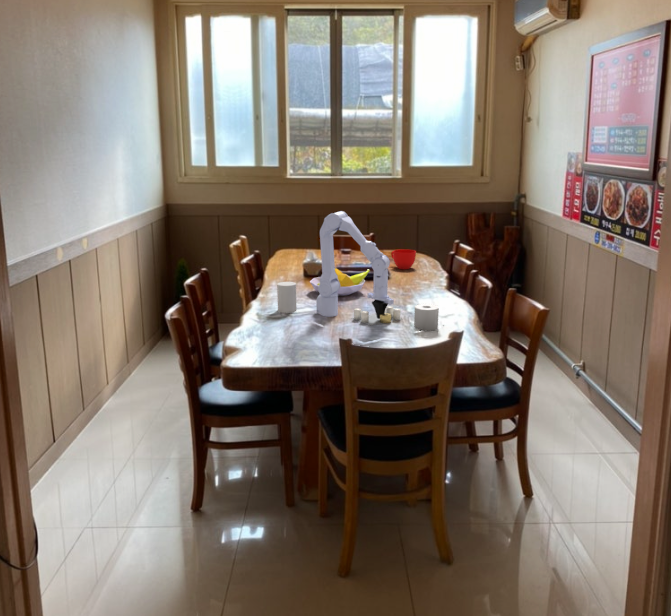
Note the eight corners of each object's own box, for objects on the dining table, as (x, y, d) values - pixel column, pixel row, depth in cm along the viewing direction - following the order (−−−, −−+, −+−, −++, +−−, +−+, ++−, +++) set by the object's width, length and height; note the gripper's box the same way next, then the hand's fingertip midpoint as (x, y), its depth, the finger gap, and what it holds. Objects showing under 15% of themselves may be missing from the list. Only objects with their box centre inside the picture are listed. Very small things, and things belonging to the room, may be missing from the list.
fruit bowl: (304, 297, 304) (303, 274, 301) (319, 285, 330) (319, 263, 327) (362, 301, 298) (362, 277, 295) (373, 288, 323) (373, 266, 320)
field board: (350, 320, 266) (350, 318, 266) (382, 314, 276) (382, 312, 276) (370, 327, 256) (370, 325, 256) (402, 320, 266) (402, 319, 265)
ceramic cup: (399, 264, 384) (399, 247, 381) (420, 268, 371) (420, 251, 369) (383, 266, 376) (383, 249, 373) (404, 271, 363) (404, 253, 361)
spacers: (352, 318, 266) (352, 309, 265) (382, 312, 275) (382, 303, 274) (371, 325, 256) (371, 315, 255) (401, 319, 265) (402, 309, 264)
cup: (299, 308, 284) (298, 282, 281) (292, 313, 277) (292, 286, 274) (281, 307, 286) (281, 281, 283) (275, 312, 279) (274, 285, 276)
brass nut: (377, 321, 262) (377, 314, 261) (386, 319, 264) (386, 312, 264) (384, 324, 258) (385, 316, 257) (393, 322, 261) (393, 314, 260)
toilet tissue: (434, 321, 264) (435, 301, 262) (438, 331, 251) (439, 310, 249) (412, 321, 264) (412, 301, 262) (415, 331, 252) (416, 310, 249)
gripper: (399, 287, 257) (399, 320, 260) (377, 281, 268) (376, 312, 272) (386, 290, 253) (385, 323, 257) (363, 283, 265) (363, 315, 268)
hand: (379, 318), depth 264 cm, fingers closed
